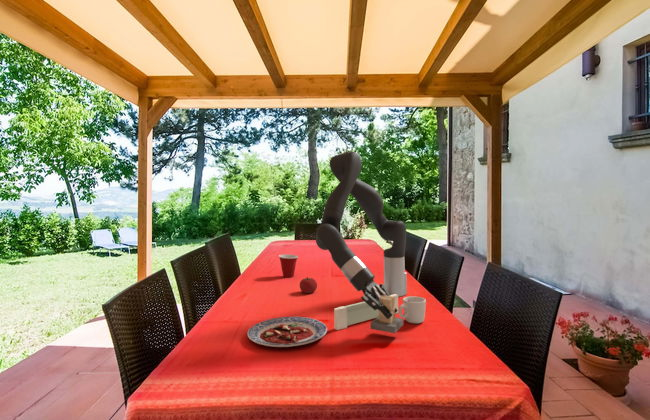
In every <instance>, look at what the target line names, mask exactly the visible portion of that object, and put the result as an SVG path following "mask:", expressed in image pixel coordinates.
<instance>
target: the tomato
mask: <svg viewBox="0 0 650 420" xmlns="http://www.w3.org/2000/svg"><path fill="white" fill-rule="evenodd" d="M317 288H318V283H317V281H316V279H314V278H312V277H310V278H309V277H305V278H302V279H301V280H300V282H299V289H300V291H301V292H303V293H304V294H305V295H306V294H307V295H308V294H312V293H315V291H316V290H317Z"/></svg>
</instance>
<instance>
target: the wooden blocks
mask: <svg viewBox="0 0 650 420" xmlns="http://www.w3.org/2000/svg"><path fill="white" fill-rule="evenodd" d="M390 296H394V297H395V307H396V309H397V310H399V296H398V295H397V294H393V295H390ZM333 309H334V310H333V316H334V319H333V320H334V323H333V325H334V326H333V327H334V330H336V331H338V330H344V329H347V328H348V326H347V308H346V307H345V306H343V305H342V306H338V307H336V308H333ZM396 314H399V311H397V312H396V313H395V315H396Z"/></svg>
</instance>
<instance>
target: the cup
mask: <svg viewBox="0 0 650 420" xmlns="http://www.w3.org/2000/svg"><path fill="white" fill-rule="evenodd" d="M402 302H403V303H402V304H401V305H399V306H398V315H399V318H403V319H405V321H406V322H408V323H411V324H421V323H422V324H423V322H424V320H425V318H426V317H425V315H426V305H427V300H426V298H424V297H421V296H417V295H416V296H415V295H412V296H405V297H403V298H402ZM403 312H404V313H403Z"/></svg>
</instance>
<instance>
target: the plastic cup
mask: <svg viewBox="0 0 650 420" xmlns="http://www.w3.org/2000/svg"><path fill="white" fill-rule="evenodd" d="M278 257H279V261H280V267H281V272H282V277H283V276H284V277H283V278H285V277H286V278H288V279H291V278H294V276H295V270H296V265H297V260H298V258H299V256H298V255H296V254H288V253H287V254H279V255H278Z"/></svg>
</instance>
